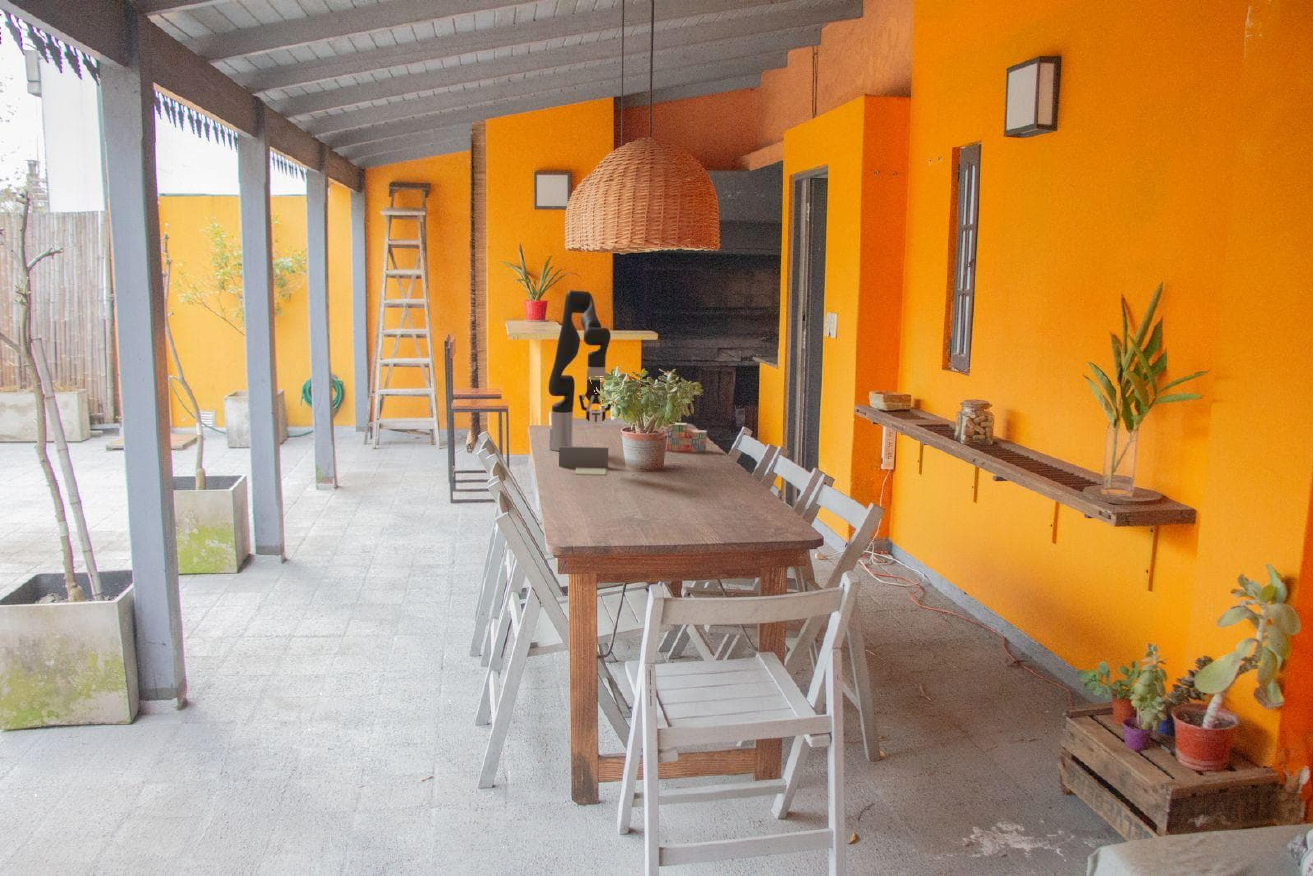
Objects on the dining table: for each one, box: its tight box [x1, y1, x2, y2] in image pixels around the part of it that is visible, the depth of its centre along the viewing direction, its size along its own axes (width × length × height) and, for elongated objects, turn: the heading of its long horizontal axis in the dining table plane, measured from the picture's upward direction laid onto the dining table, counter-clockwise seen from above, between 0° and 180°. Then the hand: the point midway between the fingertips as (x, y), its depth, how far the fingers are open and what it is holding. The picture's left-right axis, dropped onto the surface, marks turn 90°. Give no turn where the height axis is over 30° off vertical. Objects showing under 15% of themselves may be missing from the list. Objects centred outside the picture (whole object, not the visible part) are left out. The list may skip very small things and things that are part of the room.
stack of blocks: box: [666, 422, 708, 453], centre depth 459 cm, size 21×6×12 cm, turn 82°
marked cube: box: [588, 409, 603, 425], centre depth 402 cm, size 5×5×5 cm
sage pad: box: [574, 467, 607, 476], centre depth 403 cm, size 12×12×1 cm
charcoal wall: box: [558, 446, 609, 468], centre depth 413 cm, size 20×2×8 cm, turn 93°
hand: (595, 420), depth 402 cm, fingers closed on marked cube, 5 cm apart
